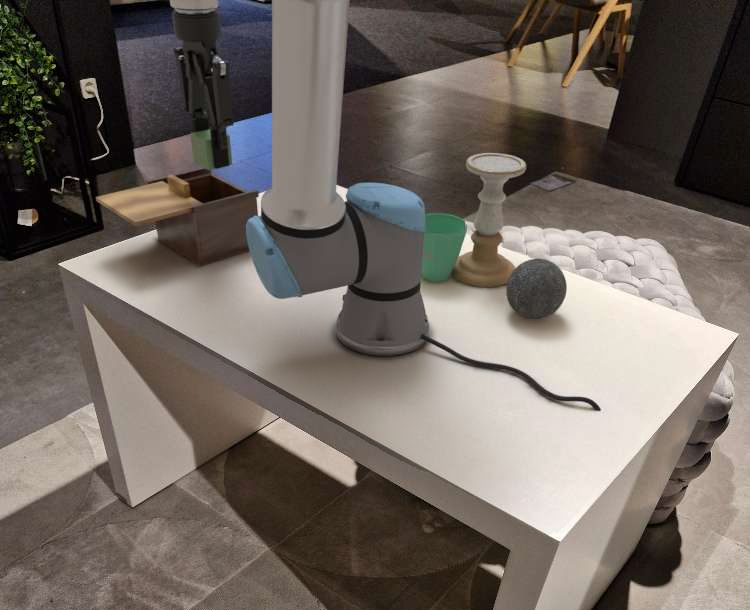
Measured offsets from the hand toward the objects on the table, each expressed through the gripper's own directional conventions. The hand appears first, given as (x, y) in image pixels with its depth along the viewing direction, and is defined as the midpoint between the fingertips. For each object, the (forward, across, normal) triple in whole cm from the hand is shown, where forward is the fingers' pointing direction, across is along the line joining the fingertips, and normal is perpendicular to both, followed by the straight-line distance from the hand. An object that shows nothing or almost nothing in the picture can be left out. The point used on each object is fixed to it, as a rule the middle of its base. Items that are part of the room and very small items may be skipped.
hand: (213, 162), depth 133 cm
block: (0, 0, 0) cm, 0 cm away
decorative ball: (+17, -55, -27) cm, 64 cm away
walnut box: (+17, +6, 0) cm, 18 cm away
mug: (+17, -31, -25) cm, 43 cm away
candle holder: (+17, -38, -33) cm, 53 cm away
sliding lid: (+7, +6, +11) cm, 14 cm away
